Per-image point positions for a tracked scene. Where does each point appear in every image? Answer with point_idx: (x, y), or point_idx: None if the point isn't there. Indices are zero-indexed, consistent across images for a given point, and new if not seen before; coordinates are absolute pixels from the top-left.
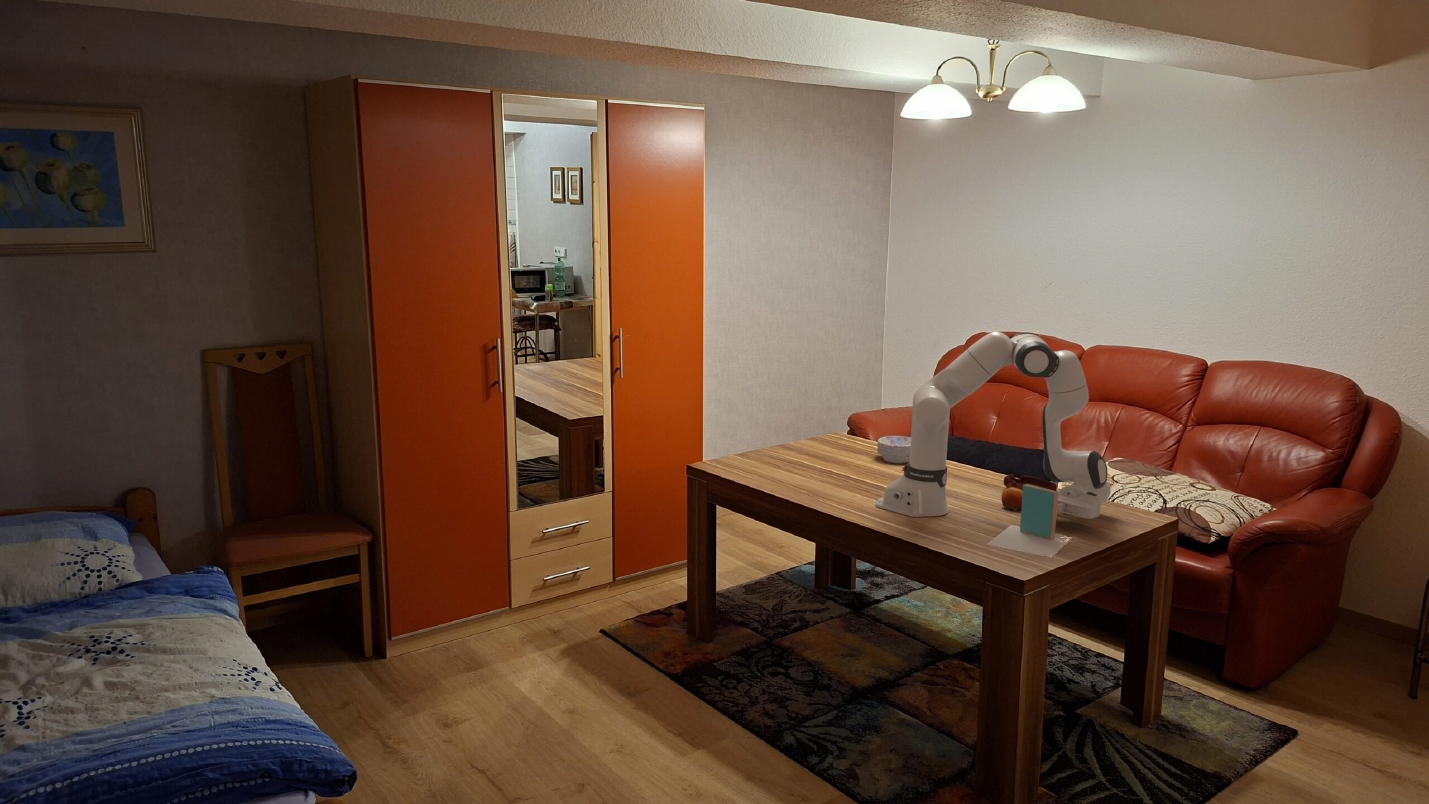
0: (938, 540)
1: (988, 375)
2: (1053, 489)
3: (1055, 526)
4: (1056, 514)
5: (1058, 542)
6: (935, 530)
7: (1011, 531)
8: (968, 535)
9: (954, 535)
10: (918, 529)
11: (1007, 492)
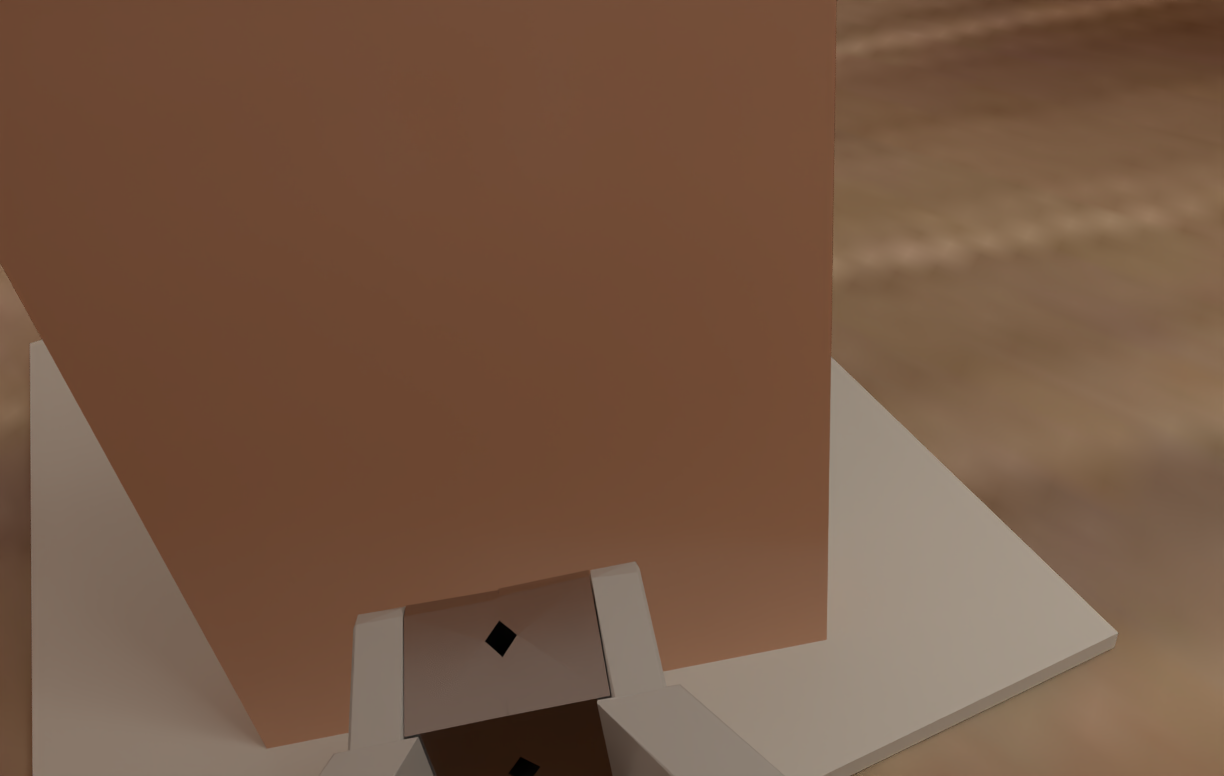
0: (889, 33)
1: None
2: None
3: (191, 608)
4: (96, 435)
5: (150, 685)
6: (1134, 73)
7: (832, 471)
8: (920, 174)
9: (960, 114)
10: (1187, 20)
11: None
